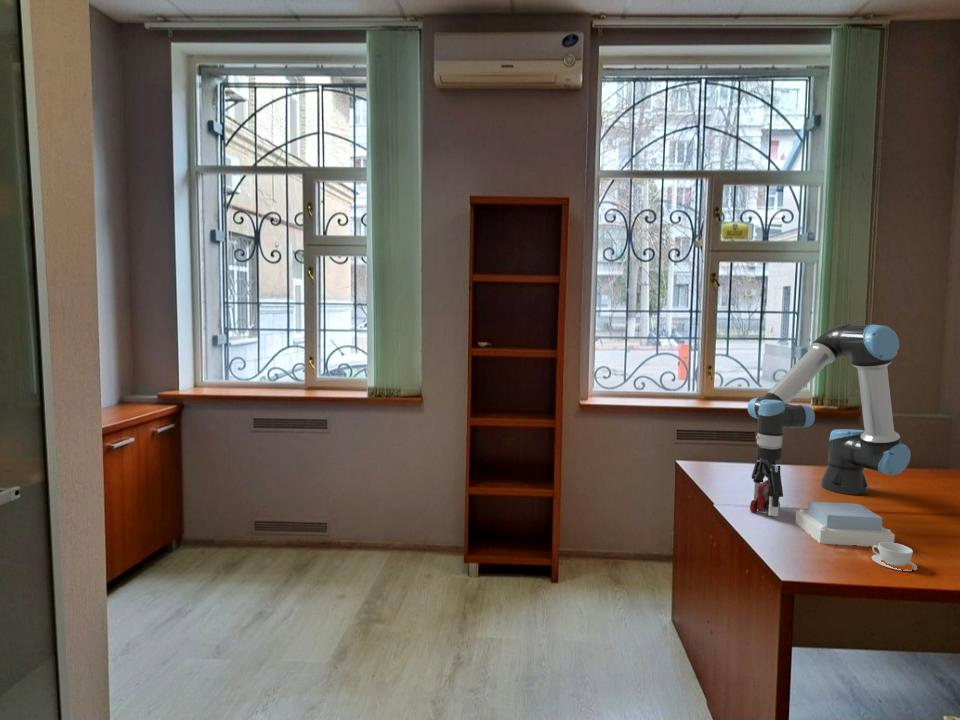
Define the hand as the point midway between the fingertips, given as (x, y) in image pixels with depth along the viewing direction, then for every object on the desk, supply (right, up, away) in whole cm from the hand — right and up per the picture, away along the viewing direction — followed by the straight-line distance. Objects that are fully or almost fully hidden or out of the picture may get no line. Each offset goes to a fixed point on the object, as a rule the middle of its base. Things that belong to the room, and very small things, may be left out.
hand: (764, 508), depth 189 cm
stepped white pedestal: (+14, -3, -18) cm, 23 cm away
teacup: (+16, -5, -37) cm, 41 cm away
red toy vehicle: (0, -2, 0) cm, 2 cm away
